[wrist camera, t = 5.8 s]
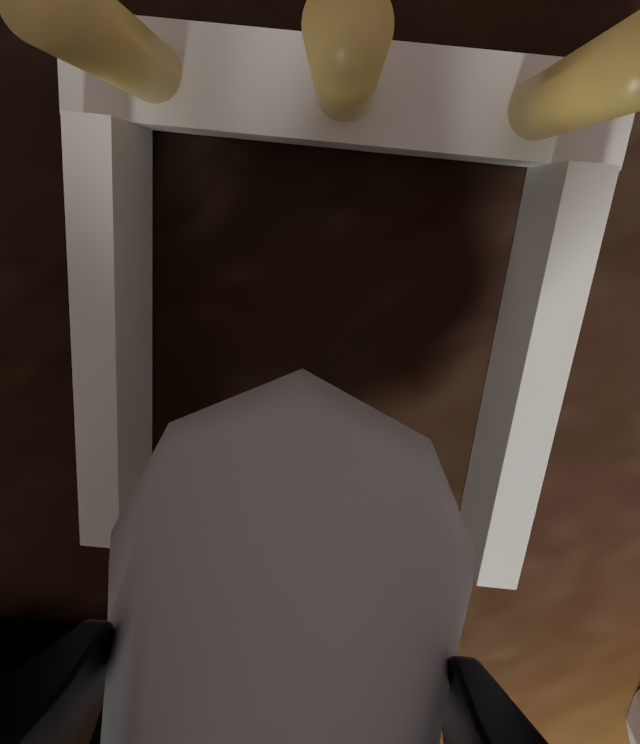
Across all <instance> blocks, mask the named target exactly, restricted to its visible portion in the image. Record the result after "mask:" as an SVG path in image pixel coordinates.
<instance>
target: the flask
mask: <svg viewBox="0 0 640 744" xmlns="http://www.w3.org/2000/svg"><path fill="white" fill-rule="evenodd" d="M477 558H478V556H477V553H476V551H475V548H474V546H473V543H472V541H471V538H470V536H469V533H468V531H467V528H466V526H465V524H464V521H463V519H462V516H461V514H460V511H459V509H458V506H457V504H456V501H455V499H454V496H453V494H452V491H451V489H450V486H449V484H448V481H447V479H446V477H445V474H444V472H443V469H442V467H441V464H440V462H439V459H438V457H437V454H436V452H435V449H434V447H433V444H432V442H431V440H430V439H429V438H427V437H425V436H423V435H421V434H420V433H418V432H416V431H414V430H412V429H411V428H409V427H407V426H405V425H403V424H402V423H400V422H398V421H396V420H394V419H392V418H391V417H389V416H387V415H385V414H383V413H382V412H380V411H378V410H376V409H374V408H373V407H371V406H369V405H367V404H365V403H364V402H362V401H360V400H358V399H356V398H355V397H353V396H351V395H349V394H347V393H346V392H344V391H342V390H340V389H338V388H337V387H335V386H333V385H331V384H329V383H328V382H326V381H324V380H322V379H320V378H319V377H317V376H315V375H313V374H311V373H310V372H308V371H306V370H304V369H300V370H298V371H295V372H293V373H290V374H288V375H285V376H283V377H280V378H278V379H275V380H273V381H271V382H268V383H266V384H263V385H261V386H258V387H256V388H253V389H251V390H248V391H246V392H243V393H241V394H239V395H236V396H234V397H231V398H229V399H226V400H224V401H221V402H219V403H216V404H214V405H211V406H209V407H206V408H204V409H202V410H199V411H197V412H194V413H192V414H189V415H187V416H184V417H182V418H179V419H177V420H174V421H172V422H170V423H168V425H167V427H166V429H165V431H164V433H163V435H162V437H161V439H160V440H159V442H158V444H157V446H156V448H155V450H154V452H153V454H152V456H151V457H150V459H149V461H148V463H147V465H146V467H145V469H144V471H143V473H142V474H141V476H140V478H139V480H138V482H137V484H136V486H135V488H134V490H133V492H132V493H131V495H130V497H129V499H128V501H127V503H126V505H125V507H124V509H123V510H122V512H121V514H120V516H119V518H118V520H117V522H116V524H115V526H114V527H113V529H112V531H111V541H110V554H109V579H108V621H110V622H111V623H112V624H113V626H114V636H113V640H112V644H111V647H110V651H109V655H108V659H107V662H106V674H105V687H104V701H103V714H102V727H101V741H100V744H439V742H440V736H441V731H442V725H443V720H444V714H445V708H446V703H447V697H448V692H449V686H450V685H449V668H448V660H449V658H450V657H451V656H456V655H457V651H458V647H459V642H460V638H461V634H462V629H463V625H464V621H465V616H466V612H467V608H468V603H469V599H470V595H471V590H472V586H473V580H474V575H475V569H476V563H477Z"/></svg>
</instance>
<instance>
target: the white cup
mask: <svg viewBox="0 0 640 744" xmlns="http://www.w3.org/2000/svg"><path fill="white" fill-rule="evenodd" d="M626 723H627V728H628V734H629V740H630V744H640V689H639V690H638V691H637V692H636V693H635V695H634V698H633V700H632V703H631V706H630V709H629V711H628V714H627V717H626Z"/></svg>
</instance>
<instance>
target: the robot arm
mask: <svg viewBox="0 0 640 744" xmlns="http://www.w3.org/2000/svg"><path fill="white" fill-rule="evenodd" d="M113 636H114V626H113V624H112V623H111V622H110V621H104V620H94V619H88V620H85V621H83V622H82V623H80V624H79V625H75V624H65V623H55V622H45V621H36V620H26V619H16V618H7V617H0V744H100V741H101V727H102V714H103V701H104V687H105V674H106V662H107V659H108V655H109V651H110V647H111V644H112V640H113ZM448 668H449V685H450V686H449V692H448V697H447V703H446V708H445V714H444V720H443V725H442V733H443V743H444V744H548V742H547V741H546V740H545V739H544V738H543V737H542V735H541V734H540V733H539V732H538V731H537V729H536V728H535V727H534V726H533V725H532V723H531V722H530V721H529V720H528V719H527V718H526V716H525V715H524V714H523V713H522V712H521V710H520V709H519V708H518V707H517V706H516V705H515V703H514V702H513V701H512V700H511V699H510V697H509V696H508V695H507V694H506V693H505V691H504V690H503V689H502V688H501V687H500V686H499V684H498V683H497V682H496V681H495V680H494V678H493V677H492V676H491V675H490V674H489V673H488V671H487V670H486V669H485V668H484V667H483V665H482V664H481V663H480V662H479V661H478V660H477V659H475V658H473V657H464V656H451V657H450V658H449V660H448Z"/></svg>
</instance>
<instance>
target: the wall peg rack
mask: <svg viewBox="0 0 640 744" xmlns="http://www.w3.org/2000/svg"><path fill="white" fill-rule="evenodd" d="M0 15H1V17H2V19H3V20H4V22H5V24H6V25H7V26H8V28H9V29H10V30H11V31H12V32H13V33H14V34H15V35H16V36H17V37H19V38H20V39H21V40H23V41H24V42H26V43H28V44H30V45H32V46H34V47H36V48H38V49H40V50H42V51H44V52H46V53H48V54H50V55H52V56H54V57H56V58H57V65H58V87H59V109H60V116H61V138H62V159H63V181H64V203H65V225H66V247H67V269H68V291H69V313H70V335H71V357H72V379H73V401H74V423H75V444H76V466H77V488H78V510H79V532H80V545H83V546H92V547H102V548H110V541H111V531H112V529H113V527H114V526H115V524H116V522H117V520H118V518H119V516H120V514H121V512H122V510H123V509H124V507H125V505H126V503H127V501H128V499H129V497H130V495H131V493H132V492H133V490H134V488H135V486H136V484H137V482H138V480H139V478H140V476H141V474H142V473H143V471H144V469H145V467H146V465H147V463H148V461H149V459H150V457H151V456H152V199H153V130H155V131H165V132H175V133H185V134H195V135H206V136H216V137H226V138H236V139H246V140H256V141H266V142H276V143H287V144H297V145H307V146H317V147H327V148H337V149H347V150H357V151H368V152H378V153H388V154H398V155H408V156H418V157H428V158H438V159H448V160H459V161H469V162H479V163H489V164H499V165H509V166H519V167H527V173H526V178H525V183H524V188H523V193H522V198H521V203H520V208H519V213H518V218H517V223H516V228H515V233H514V239H513V244H512V249H511V254H510V259H509V264H508V269H507V274H506V279H505V284H504V289H503V294H502V300H501V305H500V310H499V315H498V320H497V325H496V330H495V335H494V340H493V345H492V350H491V355H490V360H489V366H488V371H487V376H486V381H485V386H484V391H483V396H482V401H481V406H480V411H479V416H478V421H477V426H476V432H475V437H474V442H473V447H472V452H471V457H470V462H469V467H468V472H467V477H466V482H465V487H464V492H463V498H462V503H461V508H460V514H461V516H462V519H463V521H464V524H465V526H466V528H467V531H468V533H469V536H470V538H471V541H472V543H473V546H474V548H475V551H476V553H477V556H478V558H477V563H476V569H475V575H474V580H475V583H476V585H477V586H484V587H493V588H503V589H513V590H517V585H518V581H519V577H520V573H521V569H522V565H523V561H524V557H525V553H526V549H527V545H528V541H529V537H530V532H531V528H532V524H533V520H534V516H535V512H536V508H537V504H538V500H539V496H540V492H541V488H542V484H543V479H544V475H545V471H546V467H547V463H548V459H549V455H550V451H551V447H552V443H553V439H554V435H555V430H556V426H557V422H558V418H559V414H560V410H561V406H562V402H563V398H564V394H565V390H566V386H567V382H568V377H569V373H570V369H571V365H572V361H573V357H574V353H575V349H576V345H577V341H578V337H579V333H580V329H581V324H582V320H583V316H584V312H585V308H586V304H587V300H588V296H589V292H590V288H591V284H592V280H593V276H594V271H595V267H596V263H597V259H598V255H599V251H600V247H601V243H602V239H603V235H604V231H605V227H606V223H607V218H608V214H609V210H610V206H611V202H612V198H613V194H614V190H615V186H616V182H617V178H618V174H619V171H620V170H621V168H622V164H623V160H624V156H625V152H626V148H627V144H628V140H629V136H630V132H631V128H632V124H633V120H634V116H635V113H636V112H639V111H640V10H639V11H637V12H635V13H634V14H632V15H631V16H629V17H628V18H626V19H624V20H623V21H621V22H620V23H618V24H616V25H615V26H613V27H612V28H610V29H608V30H607V31H605V32H604V33H602V34H601V35H599V36H597V37H596V38H594V39H593V40H591V41H589V42H588V43H586V44H585V45H583V46H581V47H580V48H578V49H577V50H575V51H574V52H572V53H570V54H569V55H567V56H566V57H559V56H549V55H539V54H529V53H519V52H508V51H498V50H488V49H478V48H467V47H457V46H447V45H437V44H427V43H416V42H406V41H396V40H392V38H393V33H394V12H393V8H392V4H391V1H390V0H307V1H306V3H305V6H304V9H303V13H302V21H301V29H302V31H294V30H283V29H273V28H263V27H253V26H243V25H232V24H222V23H212V22H202V21H191V20H181V19H171V18H161V17H151V16H140V15H133V14H132V13H131V12H130V11H129V10H128V9H127V8H126V7H125V6H123V5H122V4H121V3H120V2H119V1H118V0H0Z"/></svg>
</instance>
